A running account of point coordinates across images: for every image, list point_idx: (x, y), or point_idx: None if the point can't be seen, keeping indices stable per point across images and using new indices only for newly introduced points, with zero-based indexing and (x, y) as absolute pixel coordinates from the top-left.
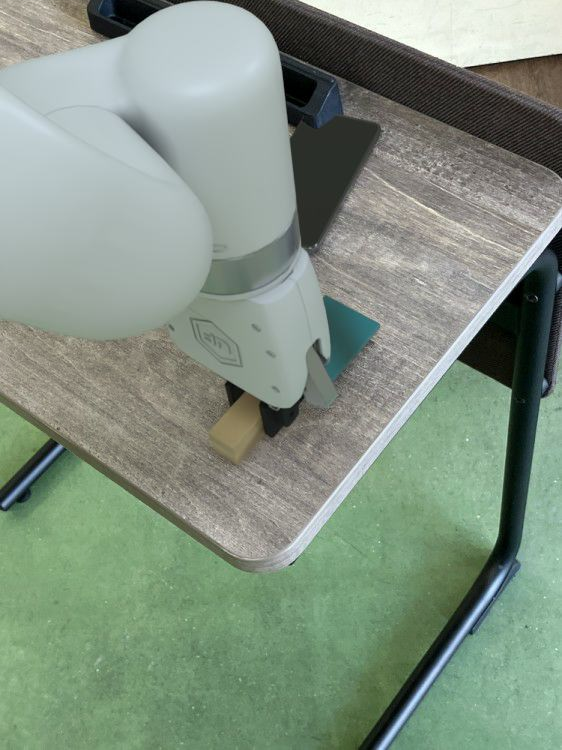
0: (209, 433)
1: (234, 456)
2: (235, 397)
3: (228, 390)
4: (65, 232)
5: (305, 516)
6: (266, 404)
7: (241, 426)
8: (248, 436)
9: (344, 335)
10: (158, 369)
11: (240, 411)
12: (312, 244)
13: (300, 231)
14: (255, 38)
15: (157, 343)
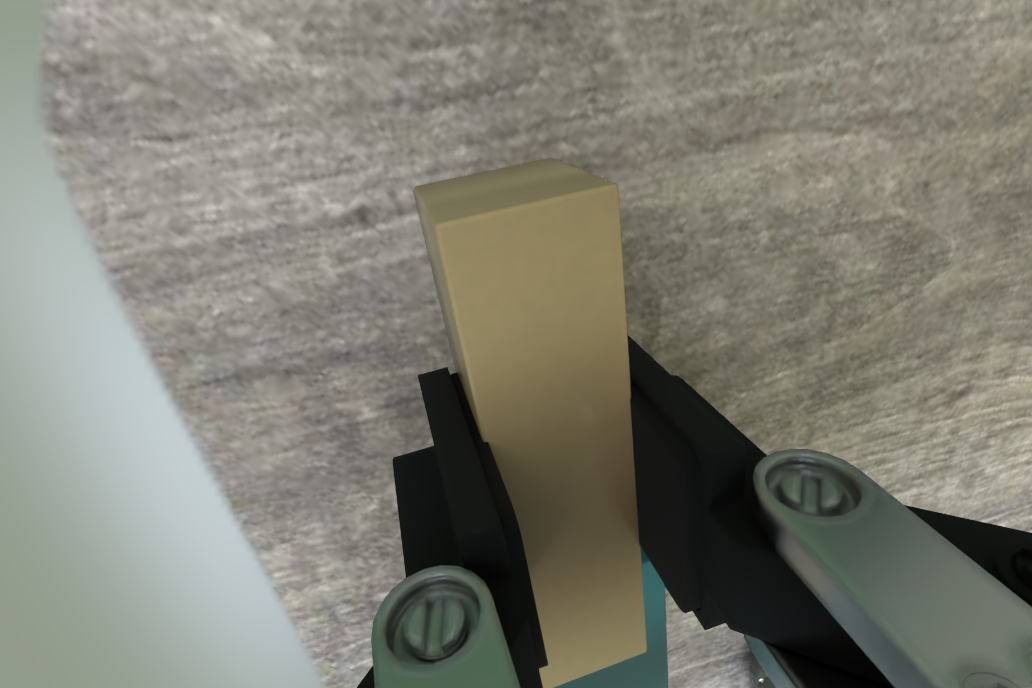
0: (607, 184)
1: (426, 201)
2: (645, 411)
3: (700, 424)
4: None
5: (118, 251)
6: (475, 557)
7: (511, 340)
8: (452, 327)
9: None
10: (878, 230)
11: (576, 383)
12: (768, 683)
13: None
14: None
15: (920, 279)
